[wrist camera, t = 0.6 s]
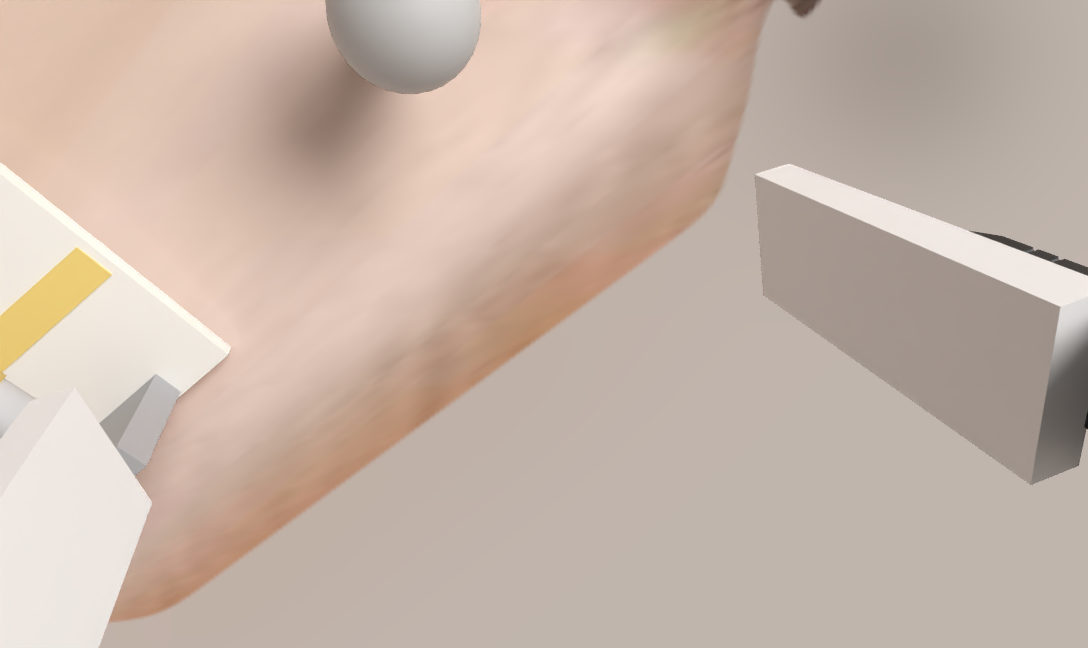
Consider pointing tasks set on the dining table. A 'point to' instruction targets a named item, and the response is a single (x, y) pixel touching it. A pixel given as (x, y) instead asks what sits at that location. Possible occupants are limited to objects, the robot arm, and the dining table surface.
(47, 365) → the rail
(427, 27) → the lightbulb
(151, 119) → the dining table surface
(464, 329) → the dining table surface
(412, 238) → the dining table surface
